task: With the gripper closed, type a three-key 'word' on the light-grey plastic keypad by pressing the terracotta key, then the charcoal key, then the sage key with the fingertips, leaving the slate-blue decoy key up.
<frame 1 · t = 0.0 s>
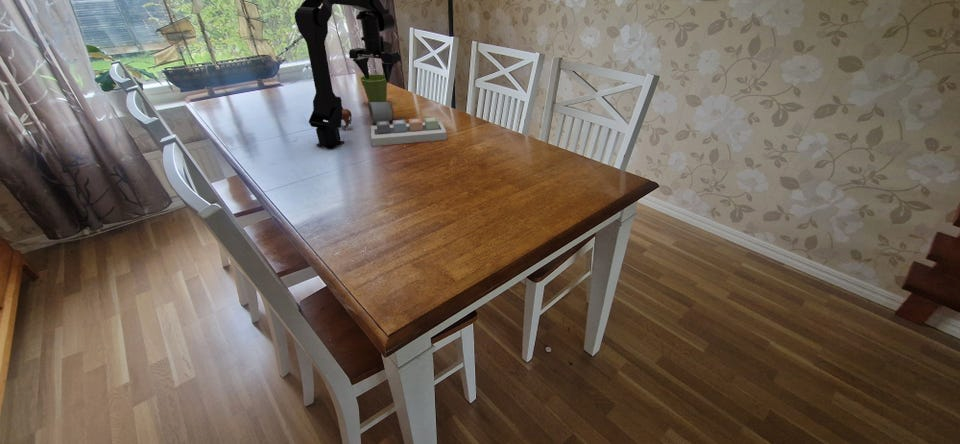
hand: (377, 80, 138), 15 cm above the table, fingers open, 9 cm apart
bull figurine: (337, 127, 139), on the table
key sage: (431, 123, 131), point 4 cm above the table, slide at 0.0 cm
key charcoal: (383, 127, 128), point 4 cm above the table, slide at 0.0 cm
keypad: (408, 136, 132), on the table
plant pot: (377, 104, 162), on the table
key slate: (399, 126, 129), point 4 cm above the table, slide at 0.0 cm
ceramic mug: (381, 121, 145), on the table
key terracotta: (415, 124, 130), point 4 cm above the table, slide at 0.0 cm
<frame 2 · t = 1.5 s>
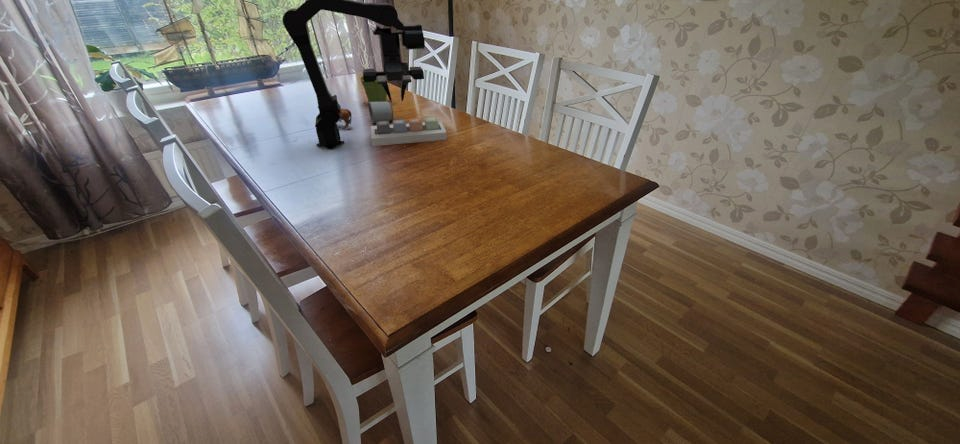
hand: (396, 101, 124), 13 cm above the table, fingers open, 3 cm apart
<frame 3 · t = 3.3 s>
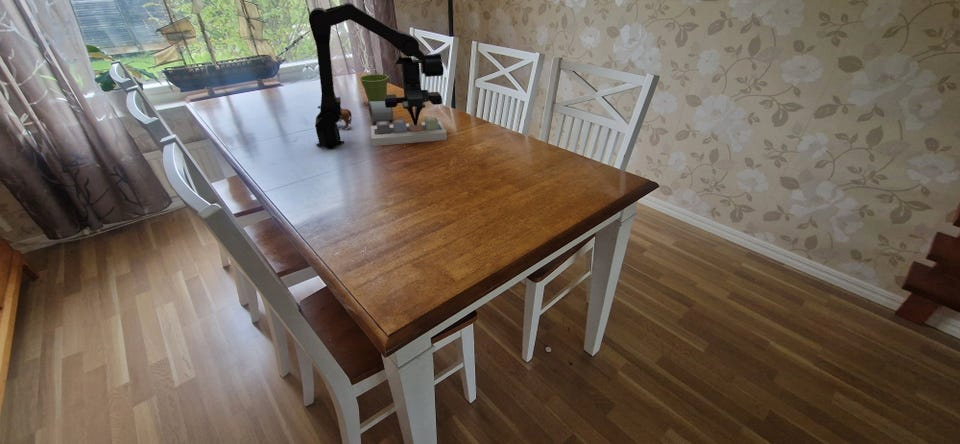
hand: (415, 124, 130), 4 cm above the table, fingers closed, pressing on key terracotta
key terracotta: (416, 128, 131), point 3 cm above the table, slide at 1.3 cm, touching gripper
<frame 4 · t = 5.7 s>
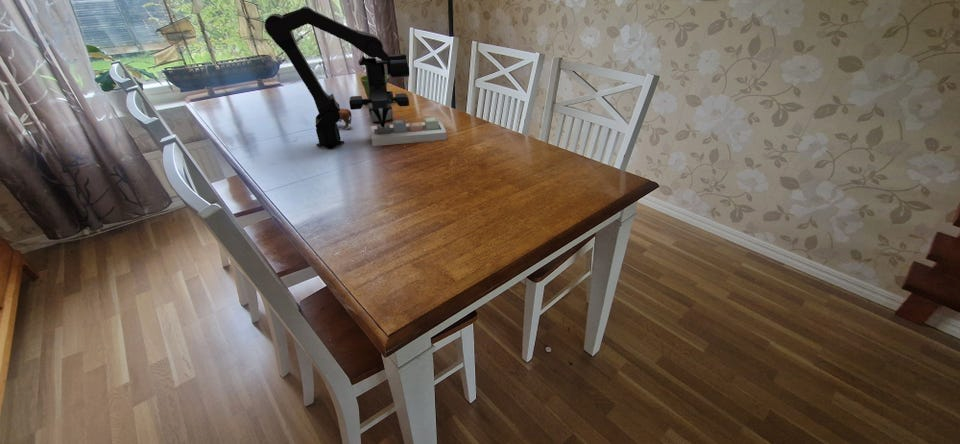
hand: (383, 126, 128), 4 cm above the table, fingers closed, pressing on key charcoal
key charcoal: (383, 130, 129), point 3 cm above the table, slide at 1.2 cm, touching gripper
key terracotta: (416, 128, 131), point 3 cm above the table, slide at 1.3 cm
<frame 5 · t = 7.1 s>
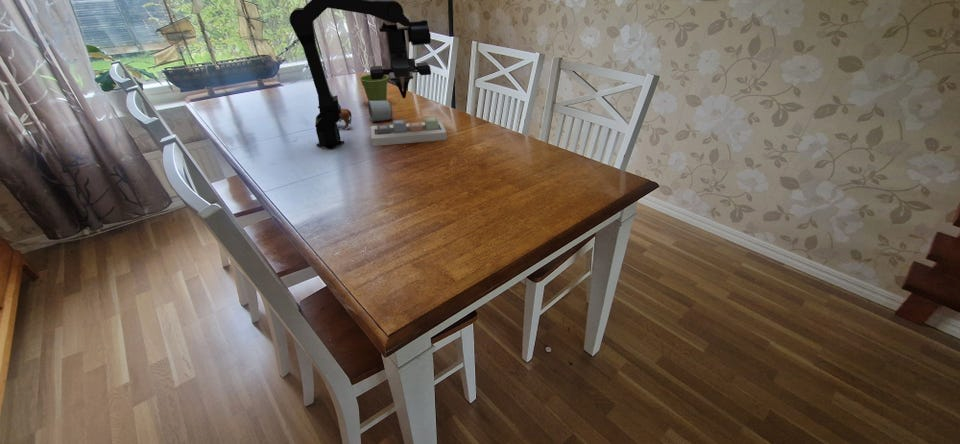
hand: (404, 97, 124), 13 cm above the table, fingers closed
key charcoal: (383, 131, 129), point 3 cm above the table, slide at 1.4 cm
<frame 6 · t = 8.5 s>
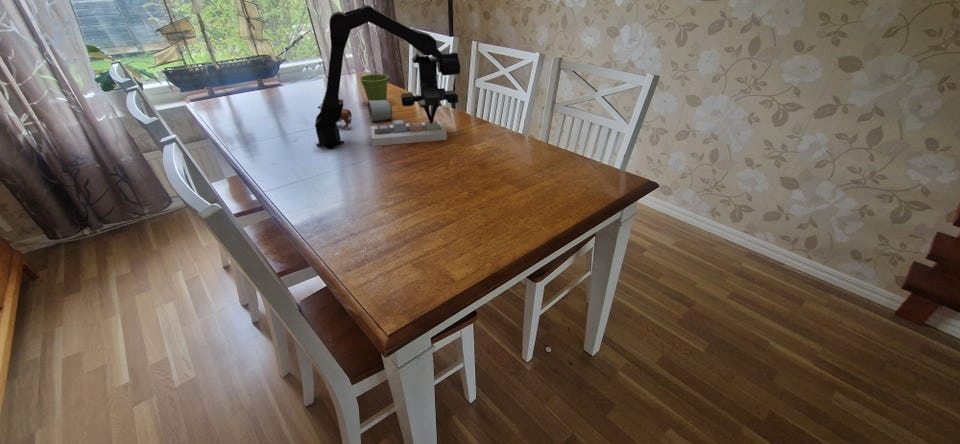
hand: (431, 122, 131), 4 cm above the table, fingers closed, pressing on key sage
key sage: (431, 127, 132), point 3 cm above the table, slide at 1.2 cm, touching gripper
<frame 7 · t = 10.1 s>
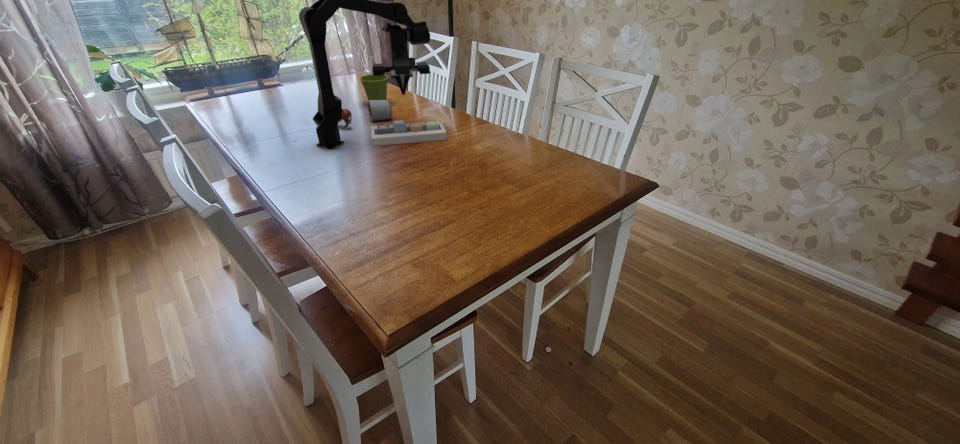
hand: (403, 94, 131), 12 cm above the table, fingers closed
key sage: (431, 127, 132), point 3 cm above the table, slide at 1.3 cm
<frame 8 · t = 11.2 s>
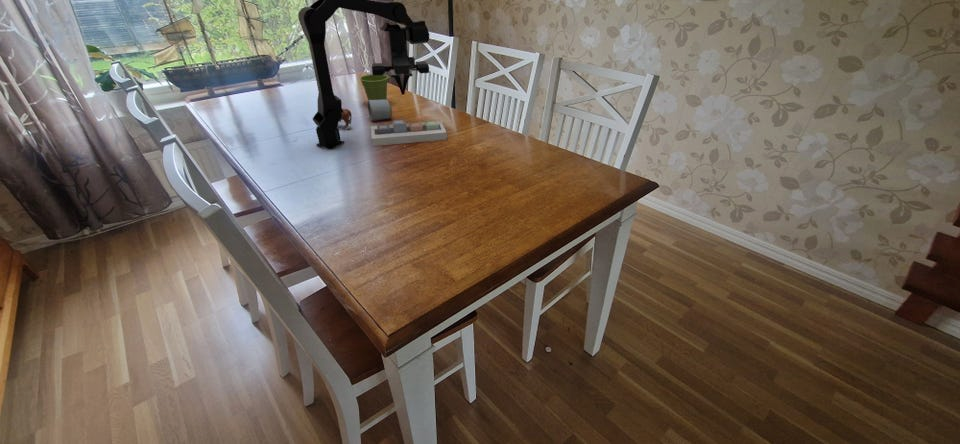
hand: (403, 94, 131), 13 cm above the table, fingers closed
at the end: key terracotta slide at 1.3 cm; key sage slide at 1.3 cm; key slate slide at 0.0 cm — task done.
